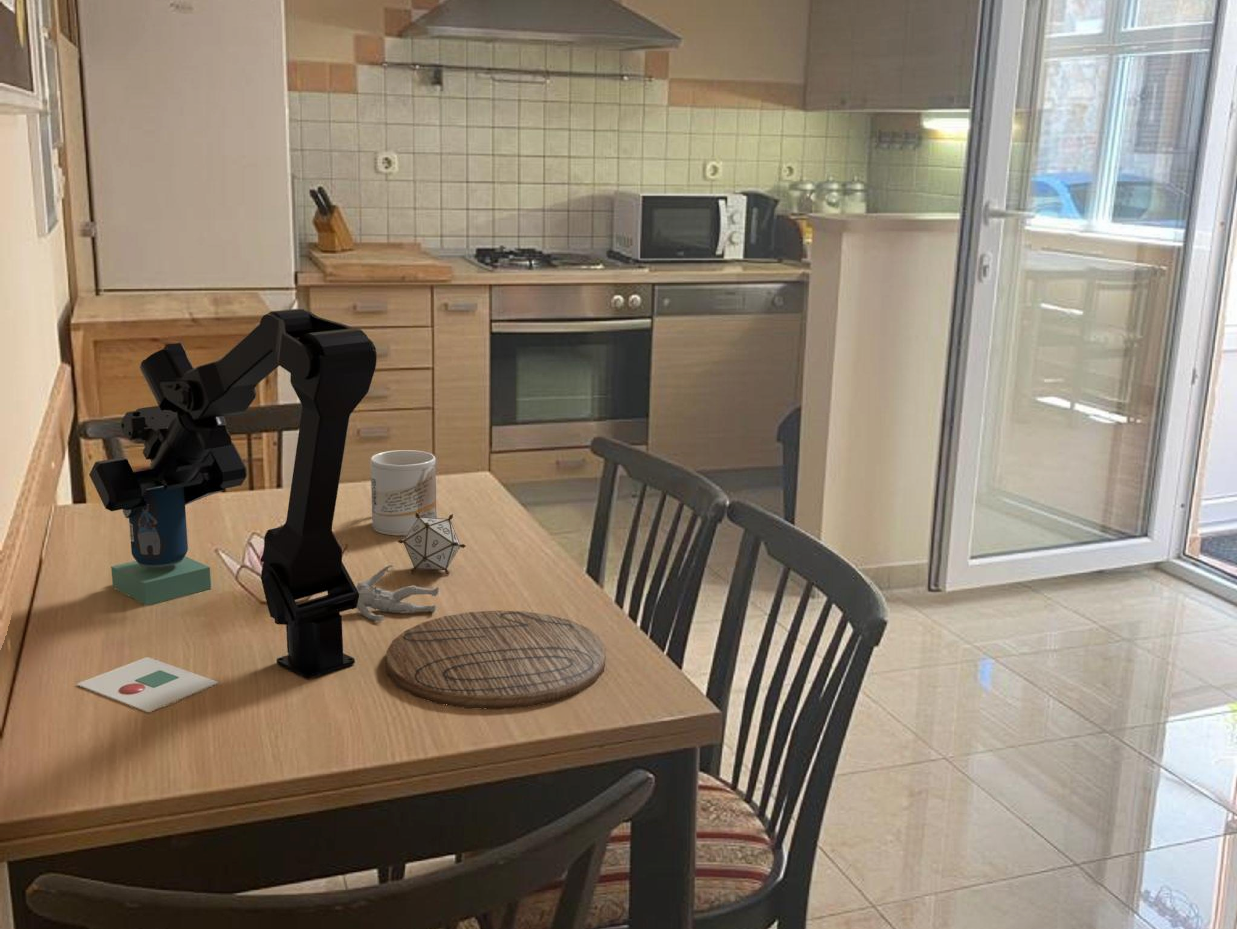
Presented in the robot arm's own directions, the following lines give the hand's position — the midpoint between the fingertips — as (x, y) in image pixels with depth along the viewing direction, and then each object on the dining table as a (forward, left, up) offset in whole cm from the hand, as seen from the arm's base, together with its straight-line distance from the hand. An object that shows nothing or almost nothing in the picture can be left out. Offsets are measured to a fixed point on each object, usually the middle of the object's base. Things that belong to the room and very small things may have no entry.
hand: (151, 509), depth 163 cm
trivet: (-50, -15, -11) cm, 53 cm away
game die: (-20, -30, -11) cm, 38 cm away
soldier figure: (-29, -16, -11) cm, 35 cm away
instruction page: (-28, +16, -11) cm, 34 cm away
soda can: (-1, 0, -7) cm, 7 cm away
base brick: (-1, 0, -11) cm, 11 cm away
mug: (0, -41, -11) cm, 42 cm away
